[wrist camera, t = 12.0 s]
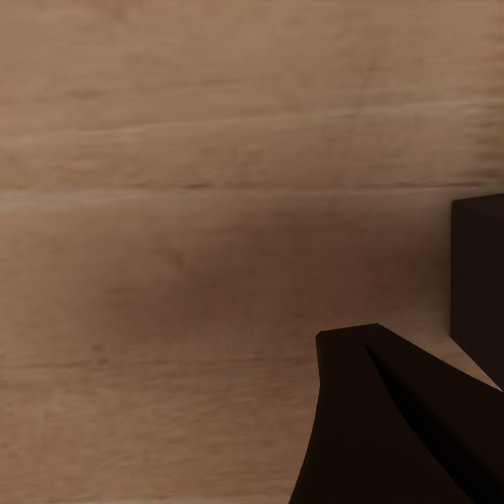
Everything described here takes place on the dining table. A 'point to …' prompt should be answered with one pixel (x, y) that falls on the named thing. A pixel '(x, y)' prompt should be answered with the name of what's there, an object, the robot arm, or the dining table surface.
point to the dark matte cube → (479, 282)
